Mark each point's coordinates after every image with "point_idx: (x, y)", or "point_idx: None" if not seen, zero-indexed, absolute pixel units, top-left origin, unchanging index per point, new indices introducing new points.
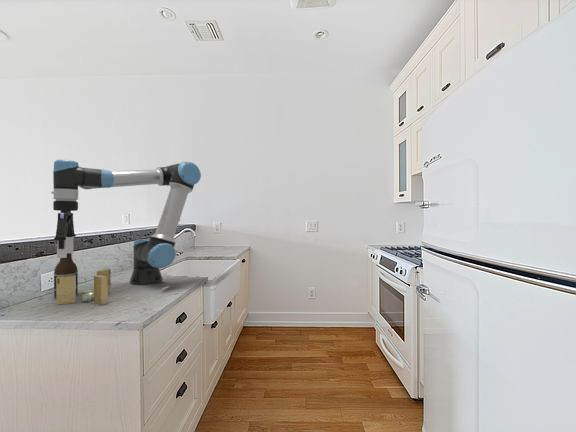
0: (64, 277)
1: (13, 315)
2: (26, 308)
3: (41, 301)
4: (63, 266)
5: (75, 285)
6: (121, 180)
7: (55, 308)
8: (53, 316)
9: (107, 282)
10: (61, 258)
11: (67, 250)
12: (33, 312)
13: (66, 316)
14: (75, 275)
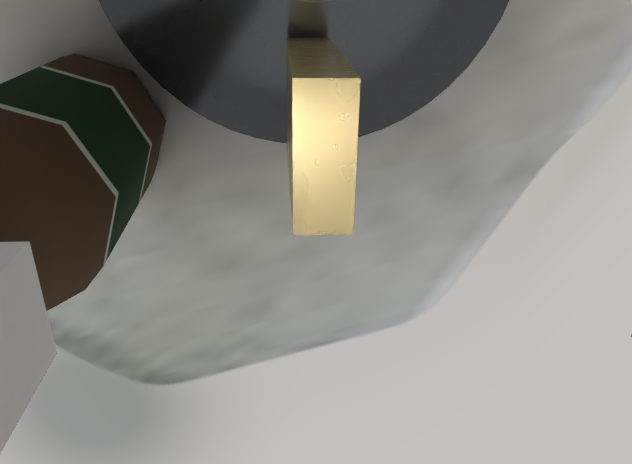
0: (355, 167)
1: (354, 309)
2: (240, 291)
3: None
4: (62, 259)
5: (301, 58)
6: None
7: None
8: (501, 121)
9: None
10: None
11: (23, 355)
12: (349, 238)
13: (552, 48)
14: (309, 76)
